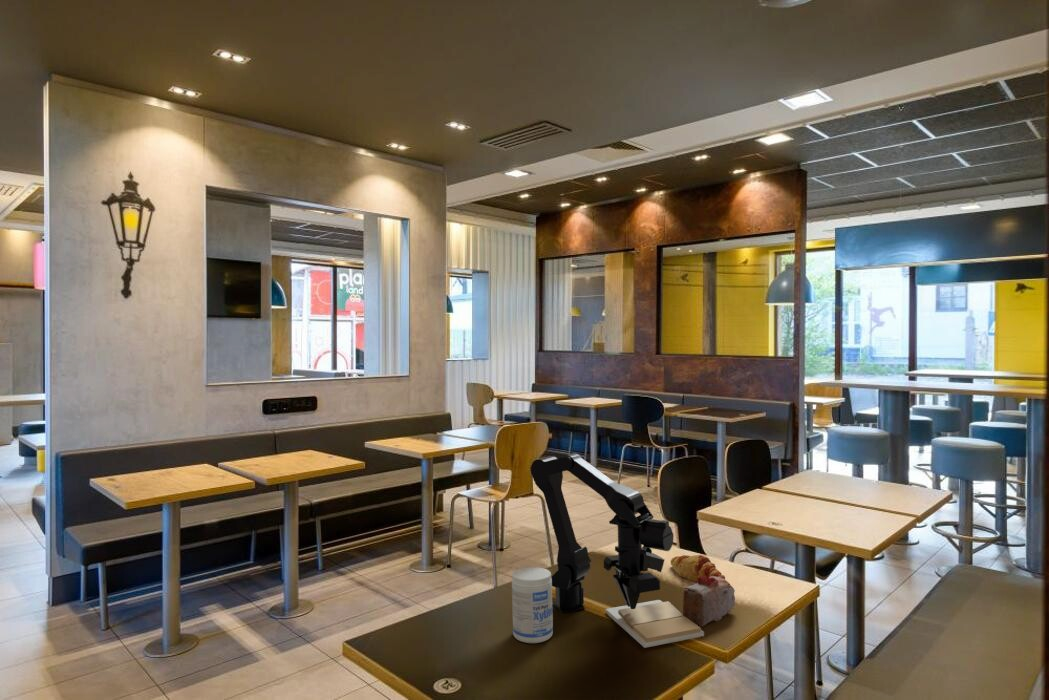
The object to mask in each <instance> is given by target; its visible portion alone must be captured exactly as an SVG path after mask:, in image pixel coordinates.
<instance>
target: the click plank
mask: <svg viewBox="0 0 1049 700" xmlns="http://www.w3.org/2000/svg"><path fill="white" fill-rule="evenodd" d="M682 613H683V612H682ZM682 613H681V612H680V610H679V609H677V608H676V606H674V605H673V604H672V603H671V602H670V601H668V600H667V601H662V602H661V603H655V604H649V605H643V606H638V607H636V608H635V609H631V608H626V609H620V610H618V614H619V615H620V616H621V617H622V618H623V620H624V621H625V622H626V623H627V624H628V625H629V626H630V628H631V629H633V626H634V625H639V624H645V623H650V622H656V621H661V620H667V619H672V618H677V617H683V616H684V615H683V614H682Z"/></svg>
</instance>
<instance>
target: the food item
mask: <svg viewBox="0 0 1049 700" xmlns="http://www.w3.org/2000/svg"><path fill="white" fill-rule="evenodd" d="M697 580H698V582H696V583H694V584H693V585H689V586H687V587H685V588H683V595H682V596H683V597H682V598H683V600H682V611H683V612H682V613H683V615H684V616H685V617H686V618H688V619H689V620H691V621H692V622H693V623H695V624H696V625H699V627H700V626H702V627H701V628H703V627H705V626H706V625H707V624H709V623H711V622H712V621H715V622H719V620H720V621H721V620H722V619H723V617H725V616H726V615H727V613H730V612H731V610H733V609H734V608H735V605H736V596H735V591H736V589H734V587H733V586H732V585H731V583H730V582H729V581H727V579H726V578H725V579H723V578H721V577H716V576H711V577H709V576H708V577H706V576H704V577H702V576H700V578H697Z"/></svg>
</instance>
